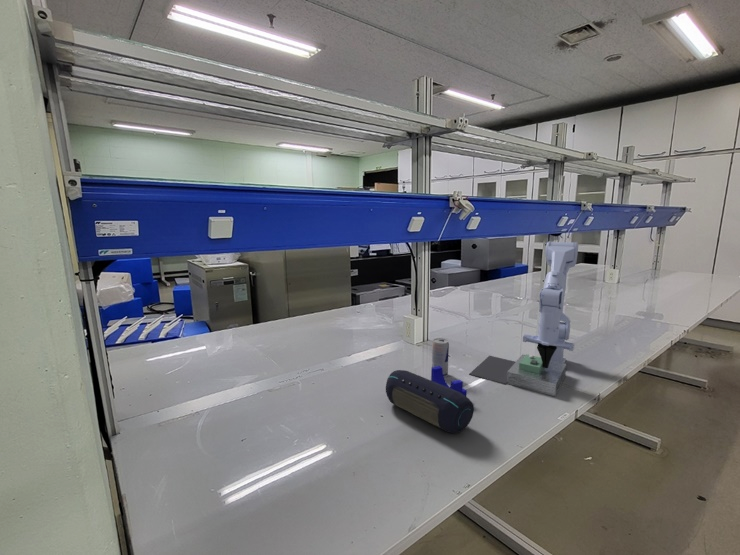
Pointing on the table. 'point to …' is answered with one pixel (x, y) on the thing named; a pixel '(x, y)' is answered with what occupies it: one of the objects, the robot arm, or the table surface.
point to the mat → (493, 369)
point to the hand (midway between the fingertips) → (545, 366)
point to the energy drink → (440, 354)
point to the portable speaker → (430, 401)
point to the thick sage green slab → (531, 364)
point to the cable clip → (438, 378)
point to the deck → (538, 377)
